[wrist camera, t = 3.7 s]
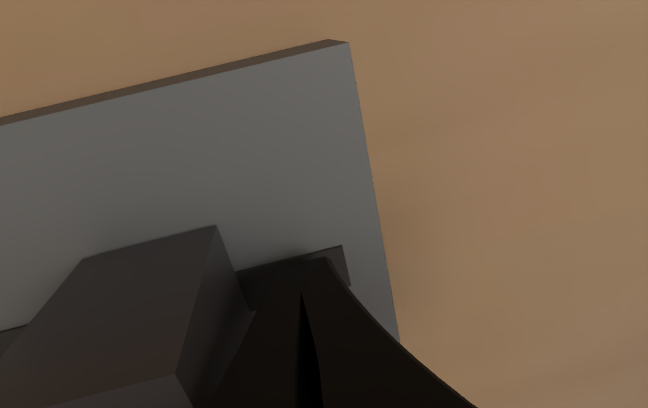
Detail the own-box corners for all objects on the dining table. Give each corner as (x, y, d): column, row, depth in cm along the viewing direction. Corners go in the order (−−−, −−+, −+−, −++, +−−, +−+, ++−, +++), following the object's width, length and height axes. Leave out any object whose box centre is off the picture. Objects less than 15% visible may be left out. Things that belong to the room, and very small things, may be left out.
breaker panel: (382, 320, 14) (413, 402, 11) (96, 394, 14) (44, 500, 11) (328, 39, 10) (353, 43, 7) (-86, 138, 10) (-257, 189, 7)
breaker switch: (266, 354, 10) (263, 535, 6) (155, 382, 10) (90, 581, 6) (216, 225, 8) (175, 373, 5) (82, 258, 8) (-65, 434, 5)
